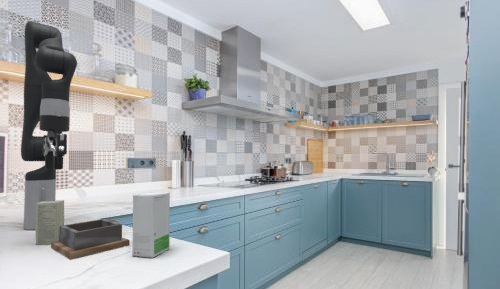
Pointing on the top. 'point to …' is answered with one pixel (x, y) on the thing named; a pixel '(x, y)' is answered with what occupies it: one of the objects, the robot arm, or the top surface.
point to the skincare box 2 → (151, 224)
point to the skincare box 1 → (49, 221)
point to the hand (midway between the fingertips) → (53, 168)
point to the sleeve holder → (89, 238)
